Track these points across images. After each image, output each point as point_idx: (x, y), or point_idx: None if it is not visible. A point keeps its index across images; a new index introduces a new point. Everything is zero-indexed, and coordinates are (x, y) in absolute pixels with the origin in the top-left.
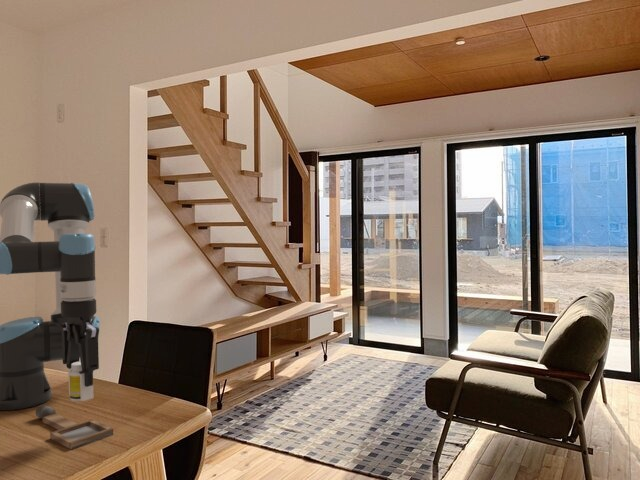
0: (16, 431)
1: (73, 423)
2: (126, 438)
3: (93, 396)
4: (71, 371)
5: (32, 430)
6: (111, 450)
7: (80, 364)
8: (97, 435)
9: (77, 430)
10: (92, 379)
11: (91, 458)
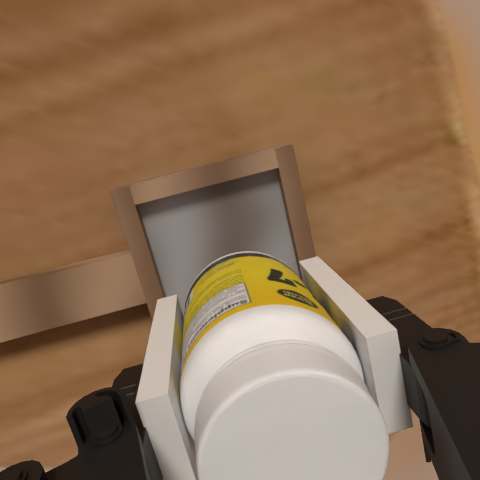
0: (2, 436)
1: (115, 267)
2: (360, 114)
3: (320, 259)
4: (195, 460)
5: (29, 388)
6: (422, 193)
7: (366, 472)
8: (306, 213)
9: (169, 257)
10: (412, 316)
11: (433, 263)
